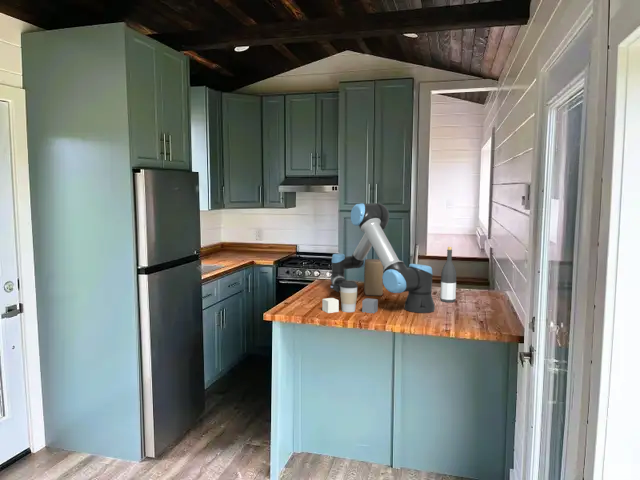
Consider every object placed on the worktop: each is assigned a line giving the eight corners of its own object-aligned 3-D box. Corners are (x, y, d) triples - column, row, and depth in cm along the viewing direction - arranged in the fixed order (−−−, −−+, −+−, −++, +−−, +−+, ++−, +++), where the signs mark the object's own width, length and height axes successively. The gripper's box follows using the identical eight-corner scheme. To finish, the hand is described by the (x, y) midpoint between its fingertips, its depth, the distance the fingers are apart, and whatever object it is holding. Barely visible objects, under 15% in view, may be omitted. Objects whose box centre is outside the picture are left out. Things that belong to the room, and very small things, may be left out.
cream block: (338, 311, 240) (338, 300, 239) (328, 313, 237) (328, 301, 236) (332, 309, 245) (332, 297, 244) (322, 310, 242) (322, 298, 241)
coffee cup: (359, 309, 245) (359, 280, 244) (355, 313, 237) (355, 283, 235) (341, 307, 248) (342, 279, 246) (337, 312, 239) (338, 282, 237)
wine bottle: (446, 303, 259) (448, 248, 256) (437, 299, 266) (439, 246, 263) (458, 302, 262) (460, 247, 259) (449, 298, 269) (451, 245, 266)
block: (380, 292, 285) (381, 259, 283) (382, 296, 275) (383, 261, 273) (363, 292, 285) (364, 258, 283) (365, 295, 275) (366, 261, 273)
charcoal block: (377, 311, 242) (377, 299, 241) (373, 313, 237) (373, 301, 236) (366, 309, 245) (366, 298, 244) (362, 312, 239) (362, 300, 239)
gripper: (351, 290, 274) (358, 299, 251) (328, 290, 273) (333, 300, 249) (351, 277, 273) (358, 285, 250) (328, 277, 272) (333, 285, 249)
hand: (346, 292), depth 250 cm, fingers closed
